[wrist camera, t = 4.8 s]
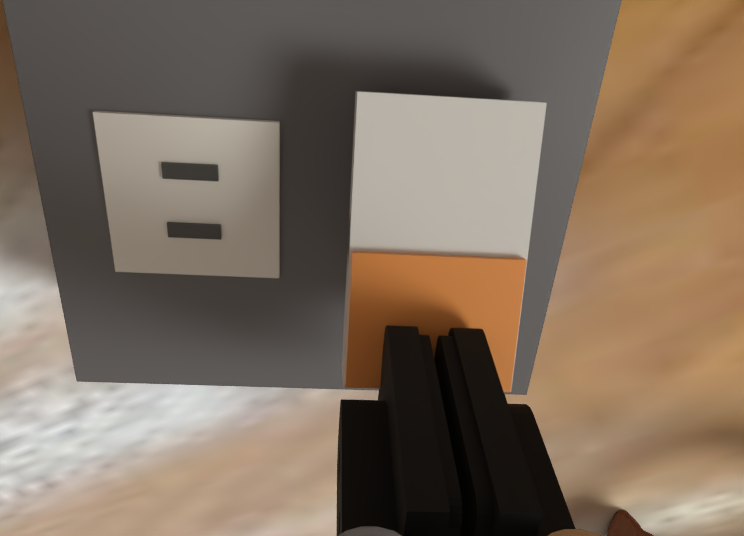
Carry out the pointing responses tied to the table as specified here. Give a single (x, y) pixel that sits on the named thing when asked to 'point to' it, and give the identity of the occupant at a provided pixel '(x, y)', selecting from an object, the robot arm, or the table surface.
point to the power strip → (263, 164)
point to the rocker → (438, 222)
